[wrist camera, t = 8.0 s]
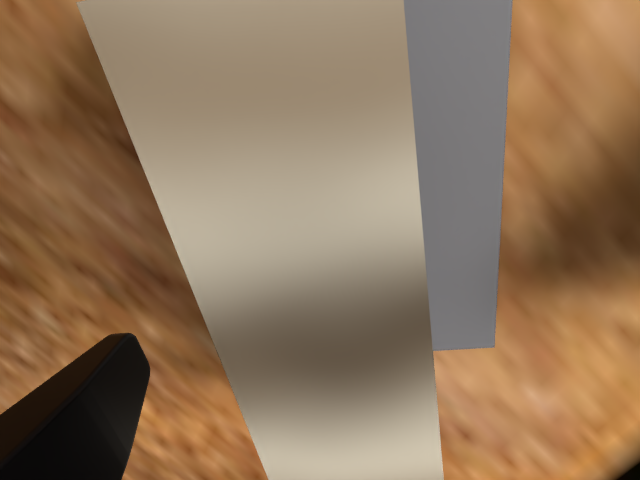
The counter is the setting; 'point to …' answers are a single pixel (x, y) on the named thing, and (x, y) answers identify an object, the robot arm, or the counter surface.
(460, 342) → the peg stand
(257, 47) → the beige marbled block
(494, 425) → the counter surface
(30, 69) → the counter surface
